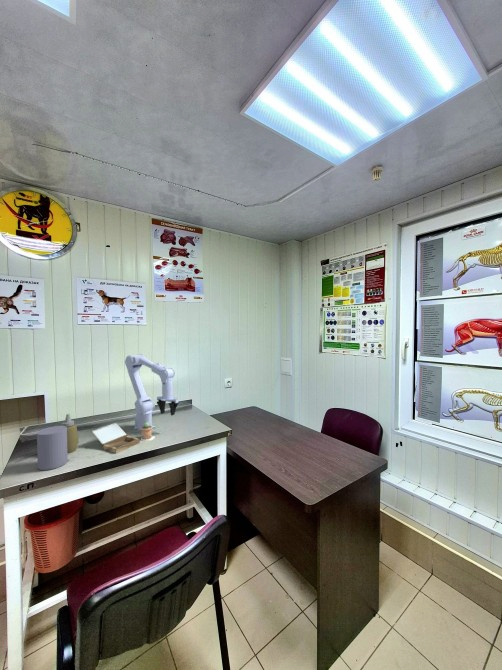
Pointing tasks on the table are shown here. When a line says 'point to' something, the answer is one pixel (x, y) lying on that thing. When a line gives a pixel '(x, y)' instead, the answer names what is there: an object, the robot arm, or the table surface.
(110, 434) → the lid
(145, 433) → the clay pot
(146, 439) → the saucer
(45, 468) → the container
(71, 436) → the squeeze bottle
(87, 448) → the table surface
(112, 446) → the cold frame
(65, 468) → the table surface
